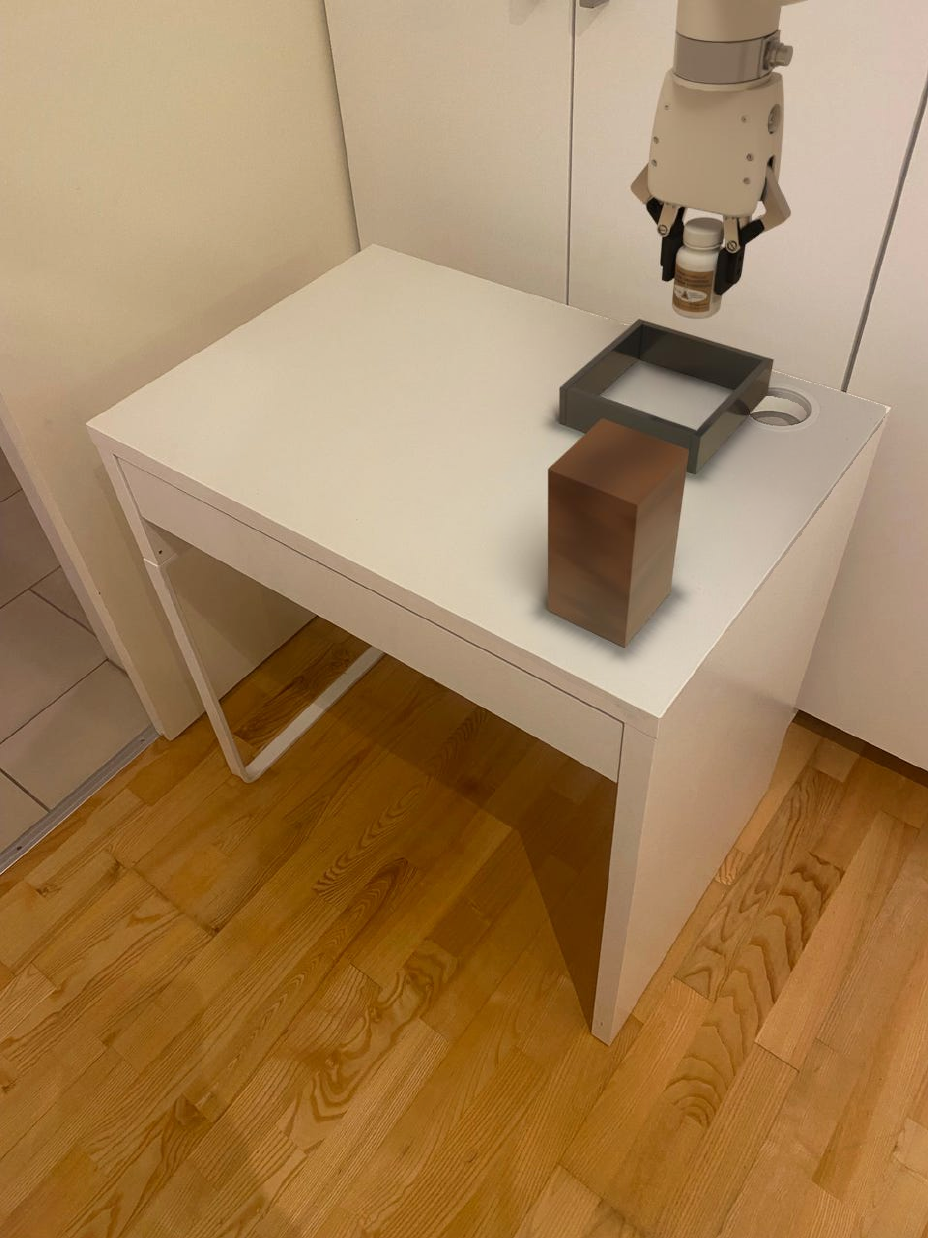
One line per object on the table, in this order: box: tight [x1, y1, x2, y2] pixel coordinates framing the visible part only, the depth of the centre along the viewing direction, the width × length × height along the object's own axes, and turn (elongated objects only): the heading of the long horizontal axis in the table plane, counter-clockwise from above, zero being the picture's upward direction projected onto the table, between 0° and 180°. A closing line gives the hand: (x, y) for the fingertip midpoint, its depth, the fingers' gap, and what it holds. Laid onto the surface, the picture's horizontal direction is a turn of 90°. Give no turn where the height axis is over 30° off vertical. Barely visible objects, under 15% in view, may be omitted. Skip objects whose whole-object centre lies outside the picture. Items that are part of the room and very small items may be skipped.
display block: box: [547, 418, 689, 648], centre depth 70 cm, size 7×7×14 cm
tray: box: [558, 318, 774, 475], centre depth 91 cm, size 15×15×4 cm
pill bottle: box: [671, 216, 725, 320], centre depth 85 cm, size 4×4×8 cm
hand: (698, 279), depth 86 cm, fingers closed on pill bottle, 4 cm apart
